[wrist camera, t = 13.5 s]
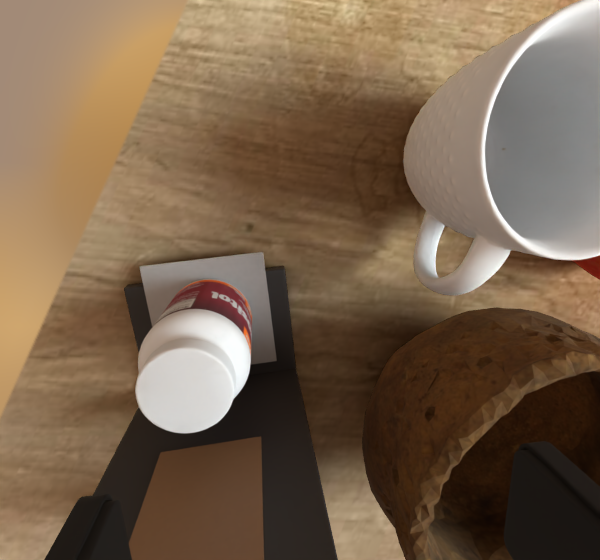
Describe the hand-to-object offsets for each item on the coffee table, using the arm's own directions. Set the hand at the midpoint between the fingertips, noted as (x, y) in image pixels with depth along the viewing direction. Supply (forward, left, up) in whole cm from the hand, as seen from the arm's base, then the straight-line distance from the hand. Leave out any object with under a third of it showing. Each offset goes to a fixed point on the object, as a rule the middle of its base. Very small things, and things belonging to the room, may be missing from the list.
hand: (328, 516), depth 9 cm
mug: (-7, +14, -22) cm, 27 cm away
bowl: (+11, +14, -22) cm, 28 cm away
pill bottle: (+2, -5, -21) cm, 22 cm away
